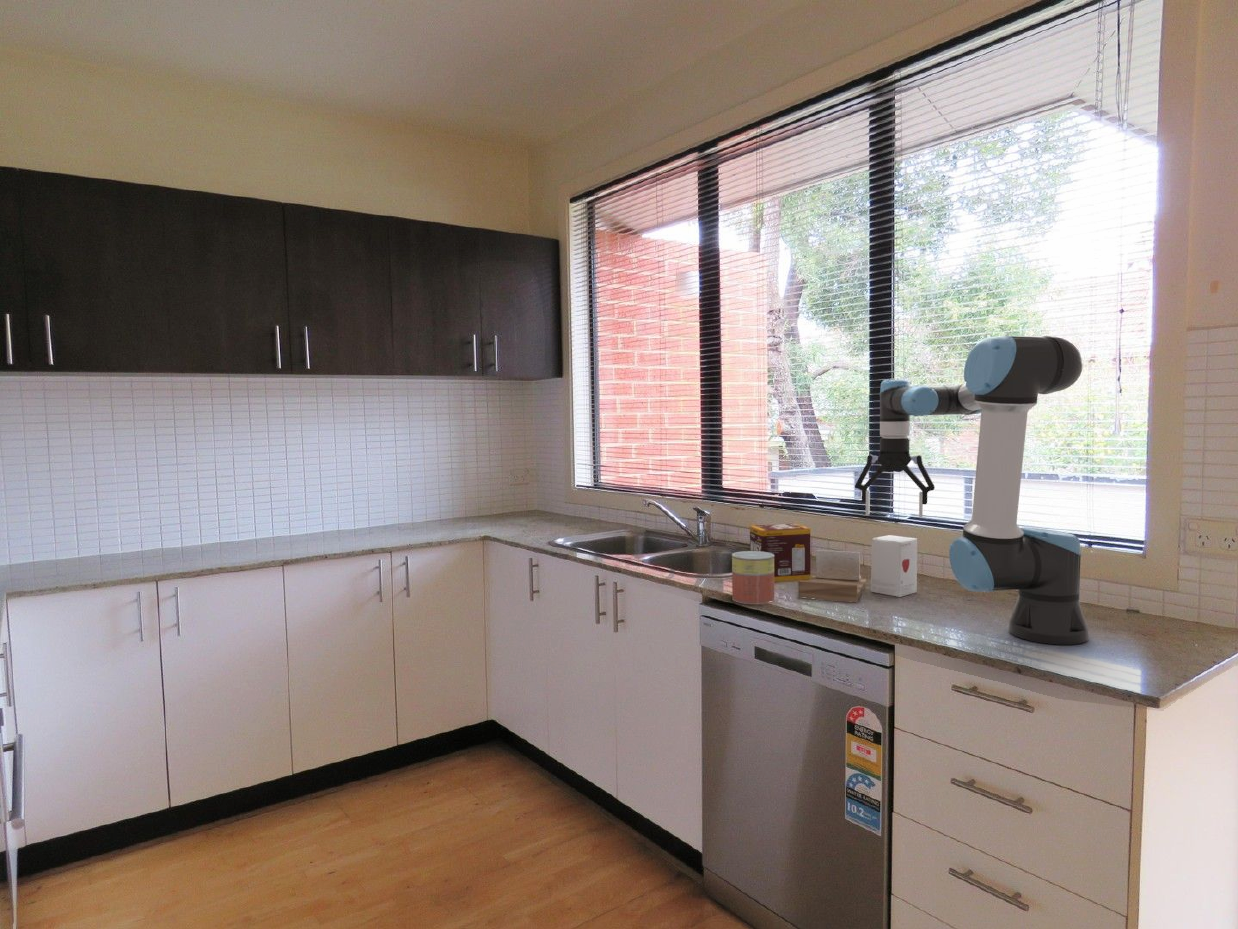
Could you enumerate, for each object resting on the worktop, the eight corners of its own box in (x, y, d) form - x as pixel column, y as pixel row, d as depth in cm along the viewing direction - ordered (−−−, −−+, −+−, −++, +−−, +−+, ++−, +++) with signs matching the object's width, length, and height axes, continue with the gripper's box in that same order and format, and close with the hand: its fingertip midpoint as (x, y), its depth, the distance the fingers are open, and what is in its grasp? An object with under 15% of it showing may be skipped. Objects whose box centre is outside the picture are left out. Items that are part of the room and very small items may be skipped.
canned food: (753, 592, 211) (753, 549, 210) (783, 599, 202) (783, 555, 201) (723, 598, 204) (722, 554, 204) (753, 606, 195) (752, 560, 194)
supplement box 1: (749, 575, 232) (748, 525, 231) (796, 572, 235) (796, 522, 233) (761, 583, 222) (761, 530, 221) (811, 580, 224) (811, 527, 223)
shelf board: (856, 602, 197) (856, 585, 197) (798, 597, 203) (798, 581, 203) (866, 584, 217) (866, 569, 217) (813, 580, 223) (812, 565, 223)
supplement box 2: (900, 598, 201) (900, 542, 200) (870, 592, 208) (870, 538, 207) (918, 592, 207) (918, 537, 206) (888, 587, 214) (888, 534, 213)
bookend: (859, 580, 214) (859, 552, 214) (816, 577, 219) (816, 550, 219) (861, 578, 218) (861, 550, 217) (818, 575, 223) (818, 548, 222)
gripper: (945, 436, 203) (944, 515, 204) (848, 436, 213) (848, 511, 215) (944, 437, 196) (943, 519, 197) (844, 437, 206) (844, 515, 208)
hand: (893, 515), depth 206 cm, fingers open, 13 cm apart
